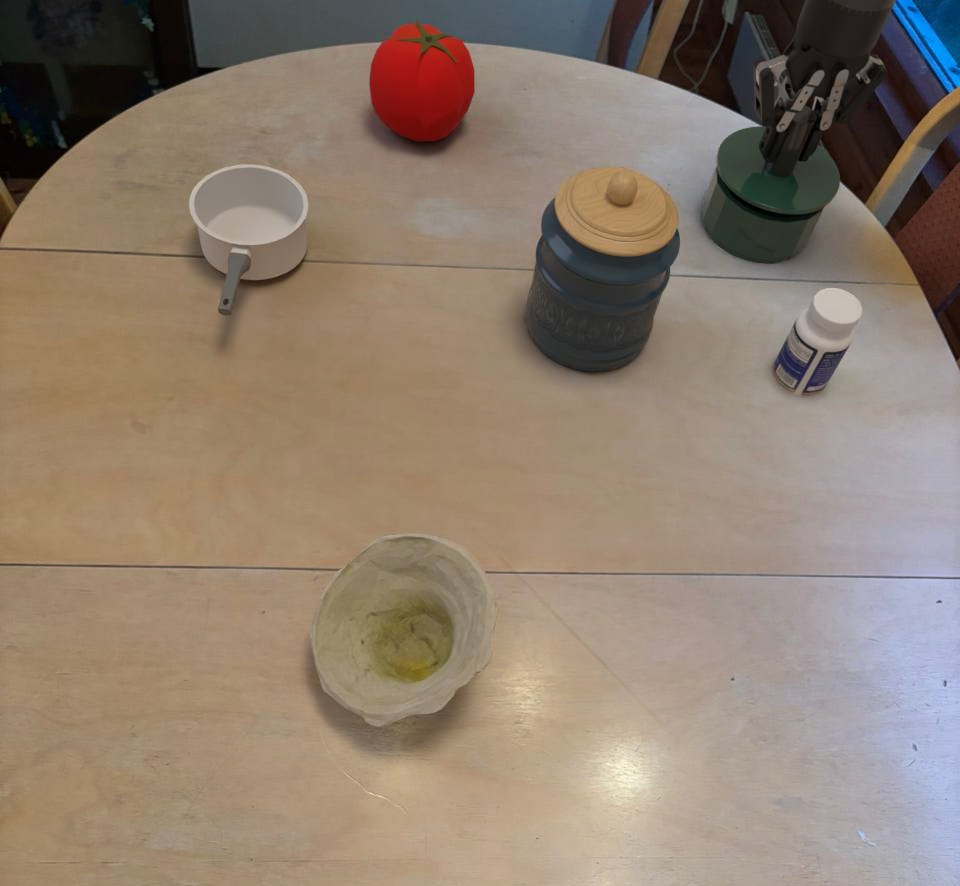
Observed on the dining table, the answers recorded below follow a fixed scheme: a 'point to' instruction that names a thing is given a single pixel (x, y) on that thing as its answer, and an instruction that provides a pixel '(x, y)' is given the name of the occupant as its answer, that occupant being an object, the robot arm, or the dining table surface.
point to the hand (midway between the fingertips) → (783, 156)
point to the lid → (779, 169)
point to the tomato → (421, 82)
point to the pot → (753, 226)
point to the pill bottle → (817, 342)
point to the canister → (601, 267)
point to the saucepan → (249, 224)
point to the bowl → (403, 627)
